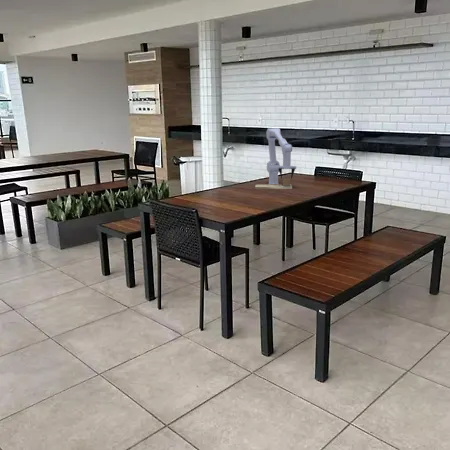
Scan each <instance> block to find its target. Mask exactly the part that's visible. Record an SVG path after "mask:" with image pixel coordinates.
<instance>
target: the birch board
mask: <svg viewBox="0 0 450 450" xmlns="http://www.w3.org/2000/svg"><path fill="white" fill-rule="evenodd" d="M254 189H255V190H292V189H293V185H292V184H290V187H283V184H255V186H254Z"/></svg>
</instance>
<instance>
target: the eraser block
mask: <svg viewBox="0 0 450 450" xmlns="http://www.w3.org/2000/svg"><path fill="white" fill-rule="evenodd" d="M282 183H283V184H282V185H283V187H290V185H291V176H290V177H289V176H287V177H285V176H284V177H283V176H282Z"/></svg>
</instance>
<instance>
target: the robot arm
mask: <svg viewBox="0 0 450 450" xmlns="http://www.w3.org/2000/svg"><path fill="white" fill-rule="evenodd" d="M265 134H266V139H267V141H268V152H269V161H268V162H267V164H266V172H267V173H268V185H279V175H280V179H282V180H283V170H291V171H290V172H291V174H290V175H291V176H290V180H291V179H293V176H294V173H295V171H296V170H297V166H296V165H295V166H294V165H291V163H292V161H291V158H292V157H291V156H292V153H291V152H293V145H292V144H291V143H288V142H287V140H286V138H284V137H283V136H282V133H281V129H280V127H274V128H269V127H268V128H267V130H266V133H265ZM276 140H278V145H279V146H280V147H281V152H282V153H281V154H282V166H281V165H280V162H279V161H278V160H277V155H276V154H277V152H276Z"/></svg>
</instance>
